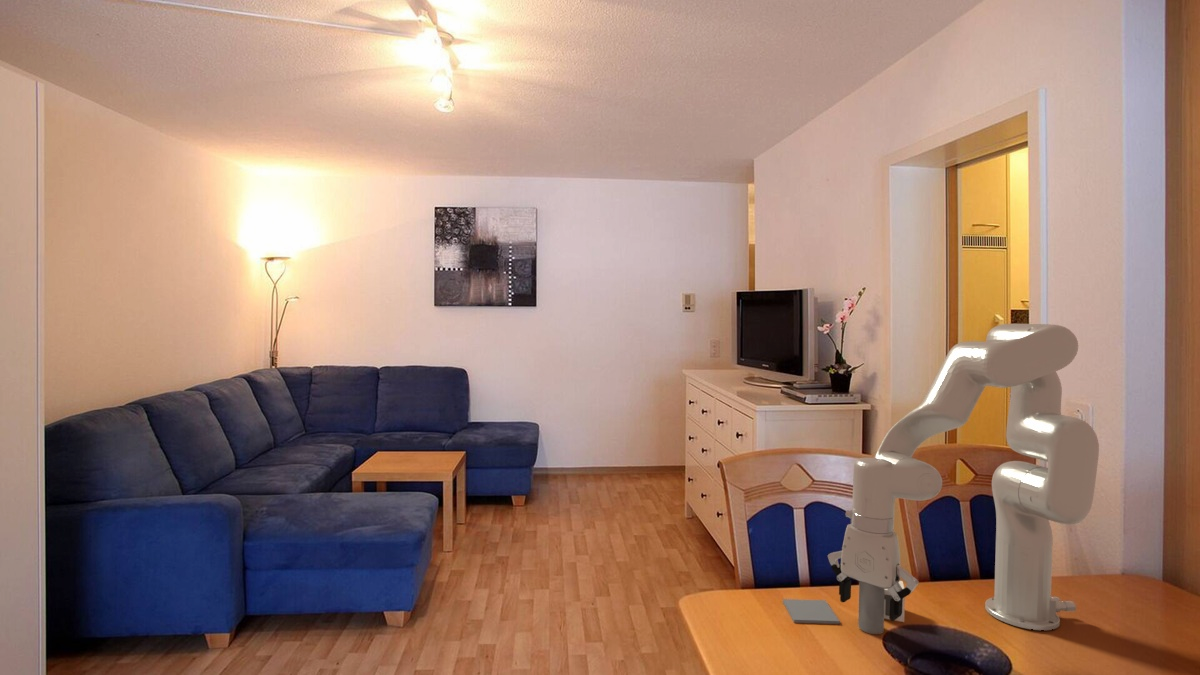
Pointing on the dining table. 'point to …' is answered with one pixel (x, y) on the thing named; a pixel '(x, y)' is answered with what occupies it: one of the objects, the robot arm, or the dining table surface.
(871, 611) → the grey hollow tube
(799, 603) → the grey mat
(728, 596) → the dining table surface
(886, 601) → the letter cube
